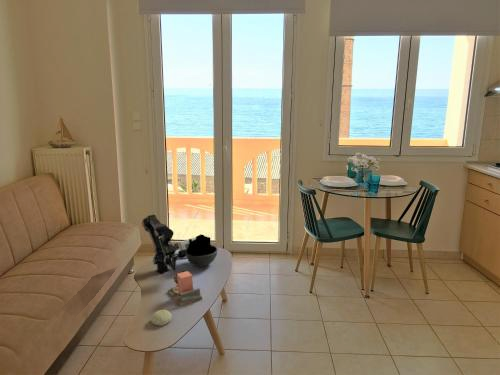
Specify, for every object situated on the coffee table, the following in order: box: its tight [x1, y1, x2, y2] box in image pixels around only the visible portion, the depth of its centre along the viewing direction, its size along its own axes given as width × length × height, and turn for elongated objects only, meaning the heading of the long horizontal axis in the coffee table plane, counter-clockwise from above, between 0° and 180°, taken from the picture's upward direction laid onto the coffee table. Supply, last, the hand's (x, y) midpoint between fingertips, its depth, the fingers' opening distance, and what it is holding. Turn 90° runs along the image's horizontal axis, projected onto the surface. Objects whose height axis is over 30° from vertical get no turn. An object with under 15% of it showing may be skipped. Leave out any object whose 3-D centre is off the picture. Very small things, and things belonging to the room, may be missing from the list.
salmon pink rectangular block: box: [176, 270, 194, 294], centre depth 199 cm, size 6×6×11 cm
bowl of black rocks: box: [186, 234, 218, 268], centre depth 237 cm, size 20×20×19 cm
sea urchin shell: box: [150, 309, 173, 326], centre depth 179 cm, size 9×8×8 cm
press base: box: [167, 286, 203, 307], centre depth 201 cm, size 18×12×6 cm, turn 31°
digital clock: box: [178, 236, 196, 259], centre depth 254 cm, size 16×9×11 cm, turn 122°
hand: (174, 270), depth 211 cm, fingers closed
